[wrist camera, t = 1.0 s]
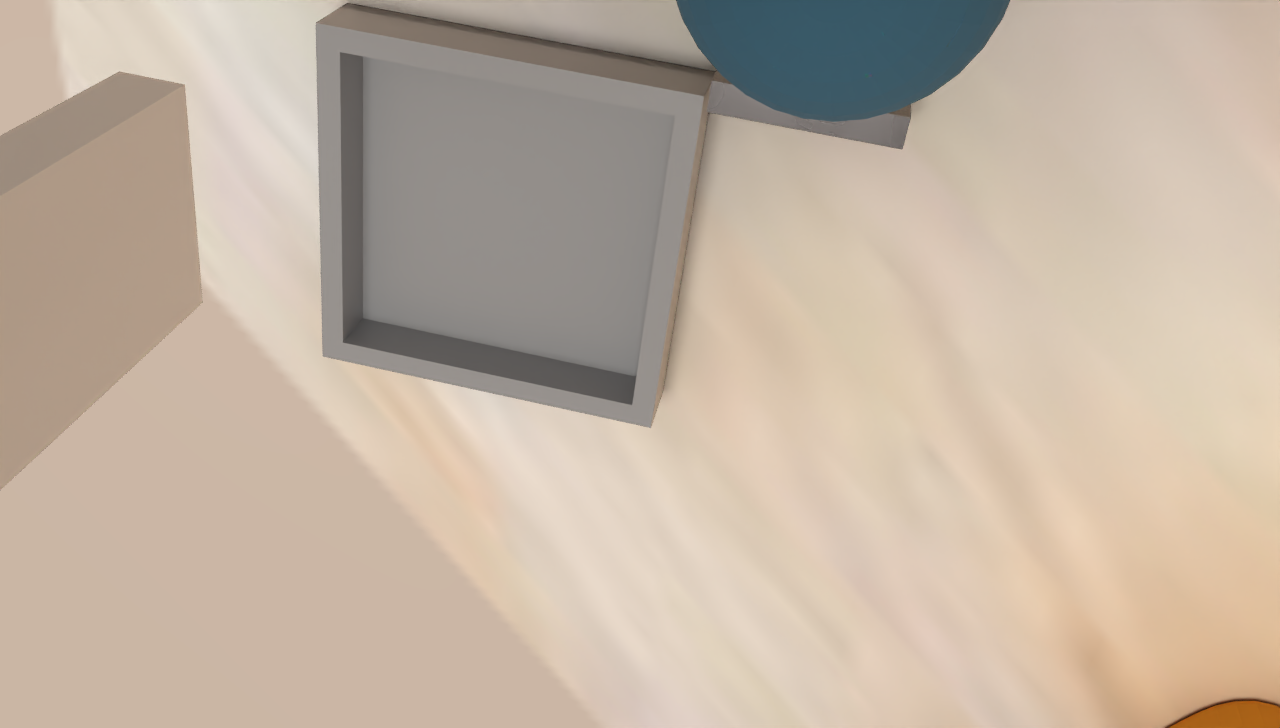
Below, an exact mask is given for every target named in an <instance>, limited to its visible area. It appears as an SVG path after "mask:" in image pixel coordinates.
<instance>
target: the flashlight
mask: <svg viewBox="0 0 1280 728" xmlns="http://www.w3.org/2000/svg"><path fill="white" fill-rule="evenodd" d="M1169 728H1280V707H1278V706H1276V705H1273V704H1268V703H1263V702H1259V701H1234V702H1229V703H1225V704H1220V705H1216V706H1213V707H1211V708H1208V709H1205V710H1203V711H1200V712H1198V713H1196V714H1194V715H1192V716H1190V717H1188V718H1186V719H1184V720H1182V721H1180V722H1178V723H1176V724H1175V725H1173V726H1171V727H1169Z"/></svg>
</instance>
